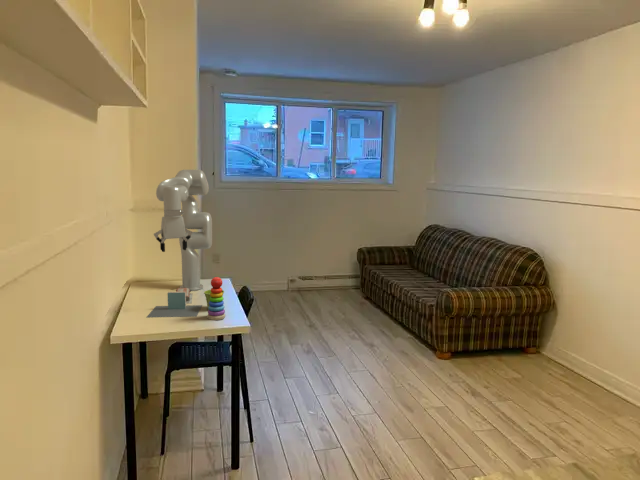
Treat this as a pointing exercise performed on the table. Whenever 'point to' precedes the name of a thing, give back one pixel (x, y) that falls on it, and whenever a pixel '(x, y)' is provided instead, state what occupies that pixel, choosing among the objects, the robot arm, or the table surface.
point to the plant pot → (207, 294)
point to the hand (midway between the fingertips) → (174, 250)
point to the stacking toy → (216, 300)
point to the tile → (176, 300)
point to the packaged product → (188, 294)
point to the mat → (175, 311)
